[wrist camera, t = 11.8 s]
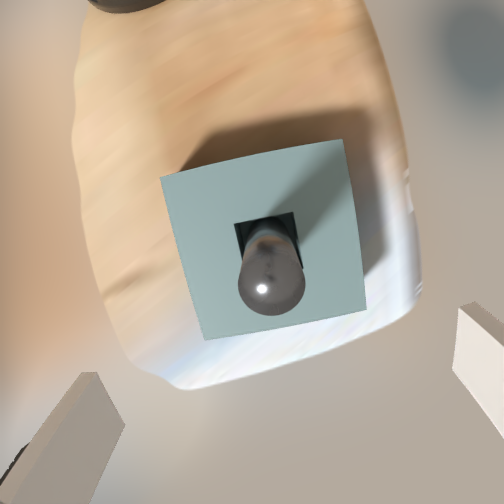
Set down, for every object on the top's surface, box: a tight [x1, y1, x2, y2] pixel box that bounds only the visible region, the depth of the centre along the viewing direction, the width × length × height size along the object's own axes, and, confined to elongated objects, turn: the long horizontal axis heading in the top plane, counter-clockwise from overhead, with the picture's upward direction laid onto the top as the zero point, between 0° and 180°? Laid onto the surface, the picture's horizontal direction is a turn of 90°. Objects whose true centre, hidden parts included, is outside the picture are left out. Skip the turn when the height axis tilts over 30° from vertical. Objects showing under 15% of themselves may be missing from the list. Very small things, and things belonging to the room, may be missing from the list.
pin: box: [238, 216, 306, 316], centre depth 26 cm, size 4×4×14 cm
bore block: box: [160, 139, 367, 340], centre depth 31 cm, size 16×16×6 cm
